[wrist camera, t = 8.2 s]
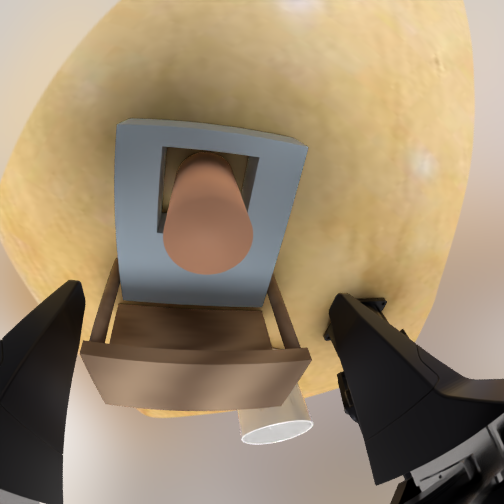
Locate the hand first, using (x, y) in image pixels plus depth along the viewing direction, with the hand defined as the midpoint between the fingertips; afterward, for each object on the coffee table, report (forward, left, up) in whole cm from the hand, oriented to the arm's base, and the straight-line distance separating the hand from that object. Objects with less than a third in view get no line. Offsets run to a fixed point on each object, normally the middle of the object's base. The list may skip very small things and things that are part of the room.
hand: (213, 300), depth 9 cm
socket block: (0, +3, -12) cm, 12 cm away
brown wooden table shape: (0, +11, -12) cm, 16 cm away
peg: (0, 0, -12) cm, 12 cm away
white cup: (-9, +22, -12) cm, 27 cm away
